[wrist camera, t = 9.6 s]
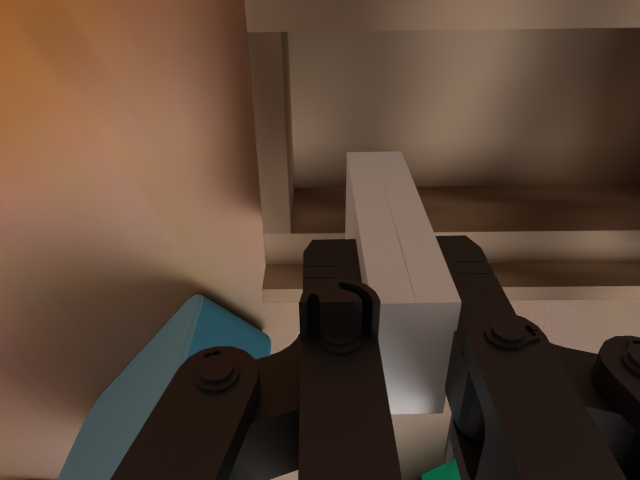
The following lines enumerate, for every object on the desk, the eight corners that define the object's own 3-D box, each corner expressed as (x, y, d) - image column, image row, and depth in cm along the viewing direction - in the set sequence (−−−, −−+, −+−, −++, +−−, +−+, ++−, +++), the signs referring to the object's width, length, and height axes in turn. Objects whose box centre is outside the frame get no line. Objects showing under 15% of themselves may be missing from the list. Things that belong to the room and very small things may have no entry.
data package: (157, 435, 32) (83, 674, 22) (91, 403, 31) (-21, 645, 21) (275, 324, 28) (250, 567, 17) (203, 279, 26) (129, 517, 16)
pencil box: (275, 219, 24) (263, 302, 19) (257, -56, 18) (233, -41, 13) (711, 214, 24) (816, 297, 19) (836, -63, 18) (1040, -51, 13)
